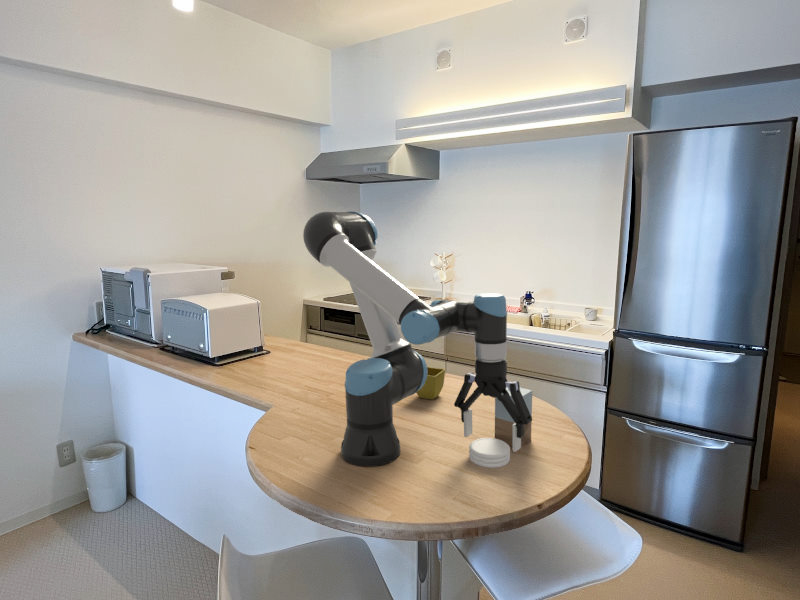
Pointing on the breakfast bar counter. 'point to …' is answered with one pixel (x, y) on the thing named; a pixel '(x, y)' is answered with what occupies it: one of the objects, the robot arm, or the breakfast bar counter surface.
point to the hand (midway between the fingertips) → (491, 442)
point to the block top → (527, 396)
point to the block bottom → (510, 432)
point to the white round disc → (489, 452)
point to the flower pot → (432, 383)
